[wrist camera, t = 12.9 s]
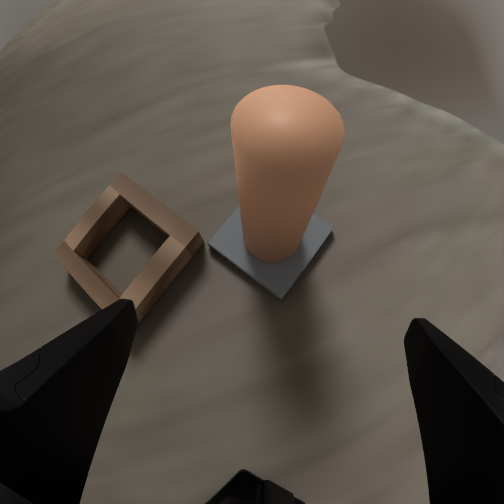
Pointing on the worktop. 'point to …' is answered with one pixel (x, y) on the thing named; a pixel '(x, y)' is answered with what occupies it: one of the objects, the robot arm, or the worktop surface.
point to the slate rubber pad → (267, 274)
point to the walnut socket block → (100, 224)
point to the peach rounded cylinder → (282, 164)
